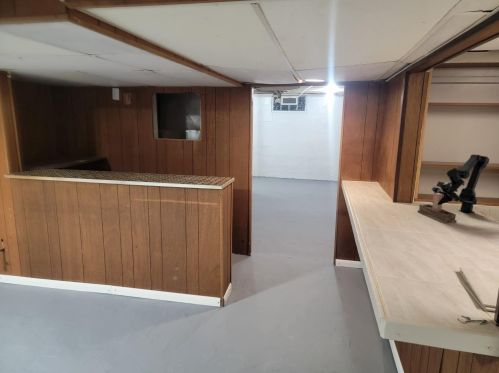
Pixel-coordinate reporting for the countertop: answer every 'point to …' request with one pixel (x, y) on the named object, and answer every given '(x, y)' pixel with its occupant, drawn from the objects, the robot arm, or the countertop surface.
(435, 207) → the clay block
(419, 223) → the countertop surface
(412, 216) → the countertop surface
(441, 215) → the compartment tray
